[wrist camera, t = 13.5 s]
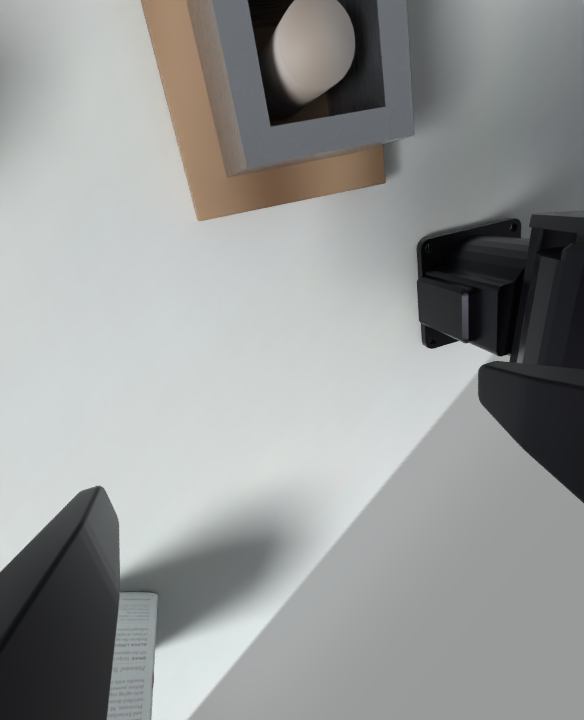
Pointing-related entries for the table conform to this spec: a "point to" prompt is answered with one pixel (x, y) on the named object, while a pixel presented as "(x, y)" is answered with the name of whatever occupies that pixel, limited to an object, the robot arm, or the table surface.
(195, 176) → the post stand
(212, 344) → the table surface
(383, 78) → the grey square sleeve
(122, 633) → the skincare box
